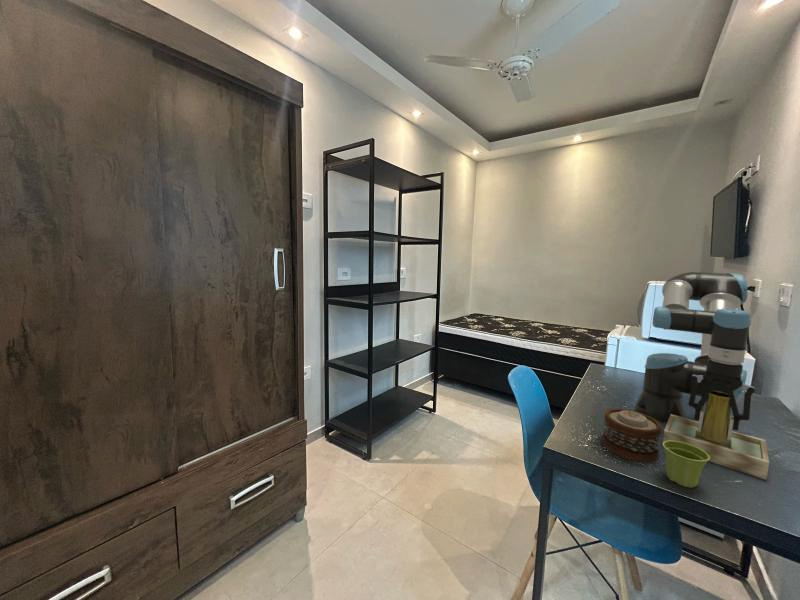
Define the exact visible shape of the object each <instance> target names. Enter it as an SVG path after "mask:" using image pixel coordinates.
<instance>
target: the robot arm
mask: <svg viewBox="0 0 800 600" xmlns="http://www.w3.org/2000/svg"><path fill="white" fill-rule="evenodd" d="M661 291H662V293H661V294H662V296H663V302H662V306H656V307H654V310H653V315H652V316H653V317H652V326H653V327H654V328H657V329H663V330H669V331H676V332H677V331H679V332H687V333H694V334H696V333H697V334H701V347H700V355H698V356H697V357H695V358H694V361H691V360H690V361H689V359H688V357H687V356H685V355H683V354H676V353H669V352H668V353H667V352H665V353H664V352H661V353H660V352H659V353H652V354H650V355H648V356H647V357H646V360H645V361H646V362H645V365H644V368H645V370H644V376H643V385H642V391H641V392H640V394H639V396H638V397H637V399H636V401H635V405H634V411H636V412H640V413H642V414H645V415H648V416H650V417H652V418H654V419H655V420H657V421H658V422H659V423H665V424H667V422H668V420H669V417H670V415H671V414H672V415H676V416H679V417H683V418H687V414H686V413H687V412H686V409H685V407H684V402H683V394H687V395H689V399H688V406H689V407H692V408H693V409H695V411H694V420H695V421H698V422H699V425H698V431H699V432H701V428H702V422H703V418H704V414H705V409H704V408H703V407H704V406H705V405H706V402H707V400H708V398H709V393H712V392H713V391H720V392H724V393H727V394H728V397H731V398H730V405H731V408H730V410H731V412H732V415H733V416H731V415H729V424H728V435H727V440H730V441H731V434H732V431H733V430H734V431H738V430H739V425H740V421H750V416H751V415H750V411H751V400H752V396H753V394H754V392H755V387H754V385H748V384H745V383H746V381H747V376H748V374H747V373H748V371H746V370H745V369H743V367H744V366H743V365H742V364H744V362H745V356H746V355H745V354H746V348H747V347H746V346H747V341H748V337H749V336H748V335H749V330H750V326H751V324H752V322H751V313H750V312H749V311H746V310H741V309H739V308H740V307H741V305H742V304H743V305H744V304H745V303H746V302H747V298H748V281H747V279H746V277H745V275H742V274H740V273H732V272H726V273H720V272H719V273H718V272H698V271H695V272H694V271H692V272H691V271H690V272H683V273H680V274H676V275H675V276H672V277H670V278H669V279H668V280H666V282H665V283H664V284H663V286H662V290H661ZM690 301H698V302H699V305H700V306H701V307H702V308H704V309H703V310H701V309H700V310H699V309H690ZM743 393H744V395H743V397H744V399H743V410H742V413H739V408H738V405H737V403H738V402H739V401H740V399H741V397H742V394H743ZM697 397H700V399H699V401H698V402H695V400H696V398H697Z"/></svg>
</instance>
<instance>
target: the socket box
mask: <svg viewBox="0 0 800 600" xmlns="http://www.w3.org/2000/svg"><path fill="white" fill-rule="evenodd" d="M665 425H666V426H665V428H664V430H663V437H662V443H661V444H663V442H664V441H668V440H673V441H680V442H684V443H687V444H690V445H693V446H696V447H698V448H700V449H702V450H703V451H705V452H706V453H707V454H708V455H709V456H710V460H709V461H708V462H711V463H714V464H716V465H719V466H723V467H726V468H728V469H730V470H731V469H732V470H735V471H737V472H741V473H743V474H747V475H749V476H753V477H756V478H758V479H762V480H764V481H767V479H768V473H769V467H770V458H769V454H768V447H767V442H766V439H763V438H760V437H756V436H751V435H748V434H745V433H741V432H737V431H735V430H734V431H733V430H732V434H731V441H730V440H727V443H716V442H712V441H709V440H707V439H705V438H703V437H702V436H701V435H700V432H699V431H698V425H699V420H695V419H694V420H693V419H689V418H687V417H686V418H683V417H679V416H676V415H672V414H671V415H670V417H669V420H668V422H667V423H666V424H665ZM662 447H663V445H662Z"/></svg>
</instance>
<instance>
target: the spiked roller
mask: <svg viewBox="0 0 800 600" xmlns="http://www.w3.org/2000/svg"><path fill="white" fill-rule="evenodd" d="M603 423H604V425H603V426H604V427H605V428H603V433H602V444H603V446H605V448H606V449H607V450H609V451H610V452H612V453H614V454H616V455H618V456H619V457H622V456H623V458H625V457H626V458H625V459H628V458H629V459H628V460H631V459H632V460H631V461H635V460H636V461H637V462H644V463H646V462H648V463H651V462H654V461H657V460H658V458H659V453H660V449H659V447H660V446H661V443H660V442H659V441H662V438H661V437H660V436H661V435H662V431H663V426H662V424H661V422H659V421H657V420H655V419H654V418H652V417H650V416H648V415H645V414H642V413H640V412H637V411H636V410H633V409H632V410H631V409H625V408H610V409H607V410H606V411H605V412H604V421H603Z"/></svg>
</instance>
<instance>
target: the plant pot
mask: <svg viewBox="0 0 800 600" xmlns="http://www.w3.org/2000/svg"><path fill="white" fill-rule="evenodd" d="M662 443H663V444H662ZM662 443H661V444H662V445H663V446H662V447H663V449H664V453H665V465H666V466H665V467H666V477H667V478H668V479H669V481H671V482H675V483H676V484H678V485H679V486H681V485H682V486H681V487H685V488H692V489H693V487H694V488H696V487H697V486H698V484H699V481H700V478H701V475H702V472H703V470H704V467H705V466H706V465H707V462H710V461H709V460H710V456H709V455H708V454H707V453H706V452H705V451H703V450H702V449H700V448H698V447H696V446H693V445H690V444H687V443H684V442H680V441H673V440H668V441H664V442H663V441H662Z"/></svg>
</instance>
